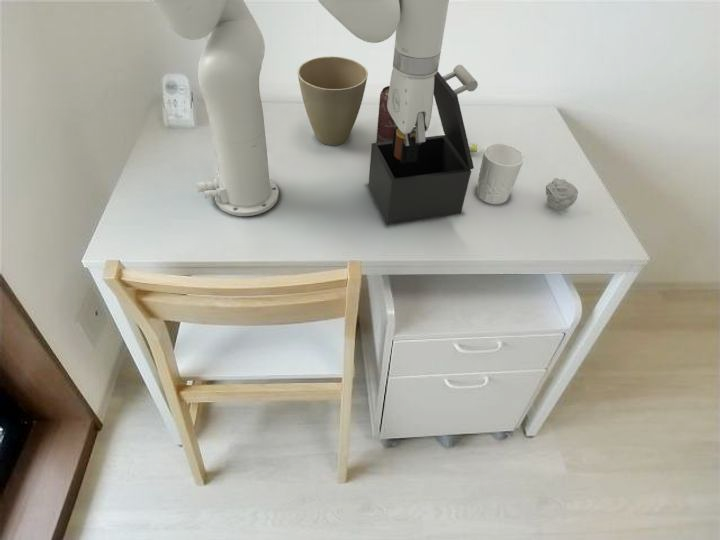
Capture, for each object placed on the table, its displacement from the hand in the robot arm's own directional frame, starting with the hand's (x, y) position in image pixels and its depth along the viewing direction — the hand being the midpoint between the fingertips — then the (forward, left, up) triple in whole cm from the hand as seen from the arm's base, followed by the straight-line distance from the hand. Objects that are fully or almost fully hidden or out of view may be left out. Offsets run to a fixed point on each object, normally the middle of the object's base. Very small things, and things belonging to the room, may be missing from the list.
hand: (404, 153), depth 98 cm
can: (+4, +19, -12) cm, 23 cm away
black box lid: (+8, 0, +7) cm, 10 cm away
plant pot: (-8, +26, -12) cm, 30 cm away
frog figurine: (+31, -9, -12) cm, 35 cm away
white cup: (+20, -2, -12) cm, 24 cm away
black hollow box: (+3, 0, -12) cm, 12 cm away
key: (+17, +15, -12) cm, 26 cm away
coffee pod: (0, 0, 0) cm, 0 cm away
